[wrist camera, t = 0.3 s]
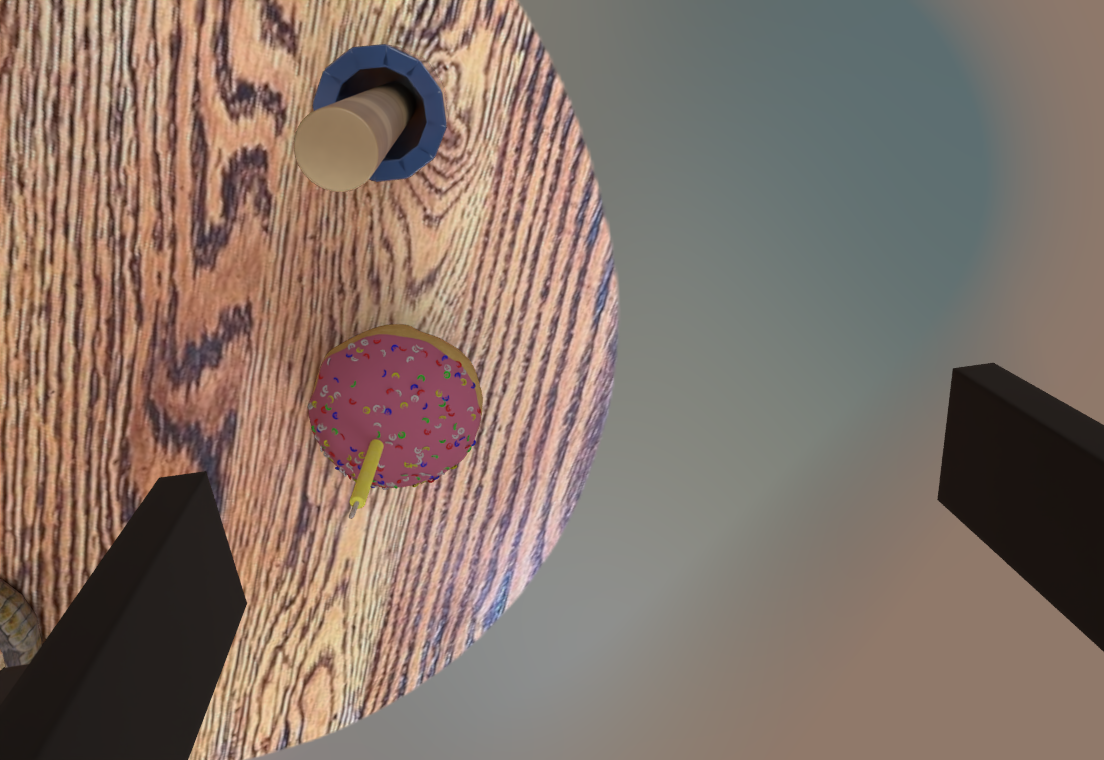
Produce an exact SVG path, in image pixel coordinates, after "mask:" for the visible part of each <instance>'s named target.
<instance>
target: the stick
mask: <svg viewBox="0 0 1104 760" xmlns="http://www.w3.org/2000/svg"><path fill="white" fill-rule="evenodd" d="M414 111H415V101H414V98H413V95H412V94H411V92H410V91H409V90H408V89H407V88H406V87H405V86H403V85H402V84H399V83H395V82H390V83H386V84H383V85H380V86H378V87H375V88H372V89H370V90H367V91H364V92H362V93H359V94H357V95H354V96H351V97H349V98H346V99H343V100H341V101H338V102H335V103H333V104H330V105H328V106H325V107H322V108H320V109H317V110H315V111H313V112H311V113H310V114H309V115H307V116H306V117H305V118H304V119H303V120H302V122H301V123H300V125H299V126H298V128H297V131H296V134H295V138H294V153H295V157H296V161H297V163H298V165H299V167H300V169H301V171H302V172H303V173H304V175H305V176H306V177H307V178H308V179H309V180H310V181H311V182H313V183H314V184H316V185H317V186H319V187H321V188H323V189H326V190H329V191H333V192H347V191H351V190H354V189H357V188H359V187H360V186H362V185H363V184H365V183H366V182H367V181H368V180H369V179H370V177H371V176H372V175H373V173H374V172H375V170H376V169H377V168H378V166H379V165H380V163H381V162H382V160H383V159H384V157H385V156H386V154H387V153H388V152H389V150H390V149H391V147H392V146H393V144H394V143H395V141H396V140H397V139H398V137H399V136H400V134H401V133H402V131H403V130H404V128H405V127H406V125H407V124H408V123H409V121H410V120H411V118H412V117H413V114H414Z"/></svg>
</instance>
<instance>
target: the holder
mask: <svg viewBox="0 0 1104 760" xmlns="http://www.w3.org/2000/svg"><path fill="white" fill-rule="evenodd" d="M390 82H395V83H399V84H402V85H403V86H405V87H406V88H407V89H408V90H409V91H410V92H411V94H412V95H413V98H414V101H415V111H414V114H413V117H412V118H411V120H410V121H409V123H408V124H407V125H406V127H405V128H404V130H403V131H402V133H401V134H400V136H399V137H398V139H397V140H396V141H395V143H394V144H393V146H392V147H391V149H390V150H389V152H388V153H387V154H386V156H385V157H384V159H383V160H382V162H381V163H380V165H379V166H378V168H377V169H376V170H375V172H374V173H373V175H372V176H371V177H370V179H369V180H371V181H376V182H381V181H390V180H399V179H407V178H409V177H411V176H412V175H414V174H415V173H416V172H417V171H419V170H420V169H421V168H423V167H424V166H425V165H427V164H428V163H429V162H430V161H432V160H433V159H434V158H435V156H436V154H437V151H438V148H439V146H440V143H441V141H442V138H443V136H444V133H445V131H446V128H447V118H448V109H447V102H446V94H445V87H444V84H443V82H442V81H441V79H440V78H439V77H438V75H437V73H436V72H435V71H434V69H433V68H432V67H431V65H430V64H429V63H428V61H427V60H425V59H424V58H422V57H420V56H418V55H416V54H414V53H412V52H409V51H407V50H405V49H403V48H401V47H397V46H392V45H387V44H382V45H371V46H361V47H352V48H351V49H349V50H347V51H346V52H345V53H344V54H342V55H341V56H340V57H339V58H337V59H336V60H335V61H334V62H333V63H331V64H330V65H329V66H328V67H326V68H325V70H324V71H323V73H322V76H321V79H320V82H319V85H318V88H317V91H316V94H315V97H314V100H313V110H314V111H315V110H317V109H320V108H322V107H325V106H328V105H330V104H333V103H335V102H338V101H341V100H343V99H346V98H349V97H351V96H354V95H357V94H359V93H362V92H364V91H367V90H370V89H372V88H375V87H378V86H380V85H383V84H386V83H390Z"/></svg>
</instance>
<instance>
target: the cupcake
mask: <svg viewBox="0 0 1104 760" xmlns="http://www.w3.org/2000/svg"><path fill="white" fill-rule="evenodd" d="M482 403H483V397H482V391H481V388H480V385H479V381H478V377H477V374H476V372H475V369H474V367H473V365H472V363H471V362H470V360H469V359H468V358H467V357H466V356H465V355H464V354H463V353H462V352H461V351H460V350H459V349H457V348H456V347H454V346H452V345H451V344H449V343H447V342H446V341H444V340H442V339H440V338H438V337H435V336H432V335H429V334H426V333H423V332H421V331H418V330H417V329H415V328H413V327H411V326H409V325H398V324H392V325H384V326H380V327H376V328H373V329H370V330H368V331H366V332H363V333H361V334H359V335H357V336H355V337H353V338H351V339H349V340H347V341H345V342H344V343H342V344H340V345H338V346H336V347H335V348H333V349H332V350H330V351H329V352H328V353H327V355H326V356H325V358H324V360H323V362H322V365H321V367H320V370H319V373H318V375H317V378H316V381H315V385H314V390H313V394H312V397H311V399H310V403H309V404H308V409H309V418H310V423H311V426H312V428H311V429H312V432H313V434H314V435H315V438H316V440H317V441H318V443H319V445H320V449H321V452H322V450H323V451H324V456H325V457H328V458H329V459H330V460H331V461H332V462H333V463H334V464H335V465H336V466H337V467H335V469H337V470H339V471H340V472H341V473H343V474H344V476H345V477H346V474H347V475H348V477H349V479H351V477H352V478H353V480H354V481H355V482H356V484H355V487H354V490H353V493H352V496H351V498H350V504H351V506H352V510H351V512H350V515H349V518H350V519H352V518H353V517H354V515H355V513H356V510H357V509H359V508H362V507H363V506H364V505H365V502H366V499H367V496H368V493H369V490H370V487H371V488H375V487H378V486H379V487H382V489H384V490H387V489H389V488H398V487H406V486H411V485H412V486H413V487H416V486H418V484H419V483H424V482H426V481H428V482H429V483H432V482H434V480H436V479H438V478H439V476H440V475H442V474H445V472H446V471H448V470H449V469H455V468H456V467H457V465H456V464H458V463H459V462H460V461H461V460H463V459H464V457H465V456H466V455H467V453H468V452H469V451H470V450H471V447H472V446H474V445H475V443H476V441H475V437H476V434H477V431H478V429H479V426H480V421H481V415H482ZM473 443H474V444H473ZM325 454H326V455H327V456H326V455H325ZM453 466H454V468H453ZM355 479H356V480H355ZM431 479H433V480H432V481H431ZM429 480H430V481H429ZM416 484H417V485H416ZM414 485H415V486H414Z"/></svg>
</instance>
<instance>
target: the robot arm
mask: <svg viewBox="0 0 1104 760" xmlns="http://www.w3.org/2000/svg"><path fill="white" fill-rule="evenodd" d="M938 500H939V502H941V503H942V504H943V505H944V506H945V507H946V508H947V509H948V510H949V511H950V512H952V513H953V514H954V515H955V516H956V517H957V518H958V519H959V520H960V521H961V522H962V523H963V524H965V525H966V526H967V527H968V528H969V529H970V530H971V531H972V532H973V533H975V534H976V535H977V536H978V537H979V538H980V539H981V540H982V541H983V542H984V543H986V544H987V545H988V546H989V547H990V548H991V549H992V550H993V551H994V552H995V553H997V554H998V555H999V556H1000V557H1001V558H1002V559H1003V560H1004V561H1005V562H1006V563H1007V564H1008V565H1009V566H1011V567H1012V568H1013V569H1014V570H1015V571H1016V572H1017V573H1018V574H1019V575H1020V576H1022V577H1023V578H1024V579H1025V580H1026V581H1027V582H1028V583H1029V584H1030V585H1031V586H1033V587H1034V588H1035V589H1036V590H1037V591H1038V592H1039V593H1040V594H1041V595H1042V596H1043V597H1045V598H1046V599H1047V600H1048V601H1049V602H1050V603H1051V604H1052V605H1053V606H1054V607H1055V608H1057V609H1058V610H1059V611H1060V612H1061V613H1062V614H1063V615H1064V616H1065V617H1066V618H1067V619H1069V620H1070V621H1071V622H1072V623H1073V624H1074V625H1075V626H1076V627H1077V628H1078V629H1079V630H1081V631H1082V632H1083V633H1084V634H1085V635H1086V636H1087V637H1088V638H1089V639H1091V640H1092V641H1093V642H1094V643H1095V644H1096V645H1097V646H1098V647H1099V648H1100V649H1101V650H1103V651H1104V425H1102V424H1101V423H1099V422H1097V421H1095V420H1094V419H1092V418H1090V417H1088V416H1087V415H1085V414H1083V413H1081V412H1080V411H1078V410H1076V409H1074V408H1072V407H1071V406H1069V405H1067V404H1065V403H1064V402H1062V401H1060V400H1058V399H1057V398H1055V397H1053V396H1051V395H1049V394H1048V393H1046V392H1044V391H1042V390H1040V389H1039V388H1037V387H1035V386H1034V385H1032V384H1030V383H1028V382H1027V381H1025V380H1023V379H1021V378H1019V377H1018V376H1016V375H1014V374H1012V373H1011V372H1009V371H1007V370H1005V369H1004V368H1002V367H1000V366H998V365H996V364H995V363H988V364H981V365H974V366H967V367H959V368H953V372H952V381H951V389H950V398H949V406H948V415H947V423H946V432H945V440H944V449H943V457H942V466H941V475H940V483H939V491H938ZM246 605H247V602H246V599H245V595H244V592H243V589H242V586H241V583H240V579H239V576H238V573H237V570H236V566H235V563H234V560H233V557H232V553H231V550H230V547H229V544H228V541H227V537H226V534H225V531H224V528H223V524H222V521H221V518H220V515H219V511H218V508H217V505H216V502H215V499H214V495H213V492H212V489H211V486H210V482H209V479H208V476H207V473H206V471H205V472H197V473H190V474H183V475H176V476H168V477H161V478H159V479H158V480H157V482H156V483H155V484H154V486H153V487H152V489H151V490H150V492H149V493H148V494H147V496H146V497H145V499H144V500H143V502H142V503H141V505H140V506H139V507H138V509H137V510H136V512H135V513H134V515H133V516H132V517H131V519H130V520H129V522H128V523H127V525H126V526H125V527H124V529H123V530H122V532H121V533H120V535H119V536H118V537H117V539H116V540H115V542H114V543H113V545H112V546H111V547H110V549H109V550H108V552H107V553H106V555H105V556H104V558H103V559H102V560H101V562H100V563H99V565H98V566H97V568H96V569H95V570H94V572H93V573H92V575H91V576H90V578H89V579H88V580H87V582H86V583H85V585H84V586H83V588H82V589H81V590H80V592H79V593H78V595H77V596H76V598H75V599H74V600H73V602H72V603H71V605H70V606H69V608H68V609H67V611H66V612H65V613H64V615H63V616H62V618H61V619H60V621H59V622H58V623H57V625H56V626H55V628H54V629H53V631H52V632H51V633H50V635H49V636H48V638H47V639H46V641H45V642H44V643H43V645H42V646H41V648H40V649H39V651H38V652H37V653H36V655H35V656H34V658H33V659H32V661H31V662H30V664H25V665H19V666H12V667H6V668H3V669H2V670H1V671H0V760H188V759H189V756H190V753H191V751H192V748H193V745H194V743H195V740H196V737H197V735H198V732H199V729H200V727H201V724H202V722H203V719H204V716H205V714H206V711H207V708H208V706H209V703H210V700H211V698H212V695H213V692H214V690H215V687H216V684H217V682H218V679H219V676H220V674H221V671H222V668H223V666H224V663H225V661H226V658H227V655H228V653H229V650H230V647H231V645H232V642H233V639H234V637H235V634H236V631H237V629H238V626H239V623H240V621H241V618H242V615H243V613H244V610H245V607H246Z"/></svg>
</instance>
